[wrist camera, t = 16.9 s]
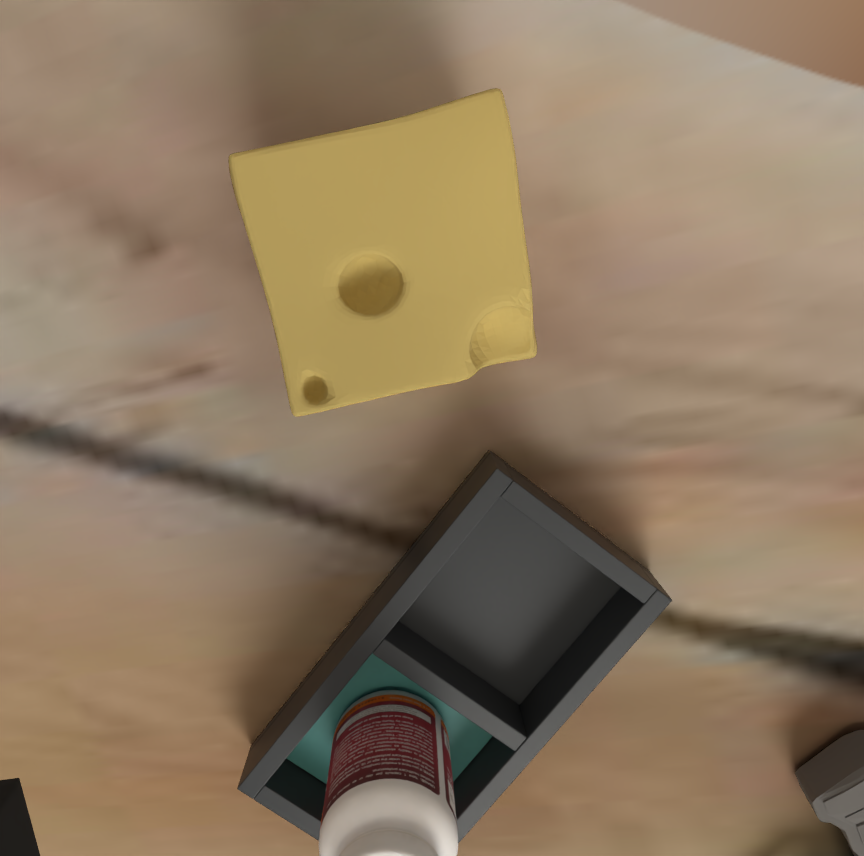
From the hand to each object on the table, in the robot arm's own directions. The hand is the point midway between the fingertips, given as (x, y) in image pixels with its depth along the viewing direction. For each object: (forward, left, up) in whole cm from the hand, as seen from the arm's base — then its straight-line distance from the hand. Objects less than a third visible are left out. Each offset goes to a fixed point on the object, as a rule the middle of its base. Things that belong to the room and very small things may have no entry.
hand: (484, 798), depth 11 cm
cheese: (-6, +5, -29) cm, 30 cm away
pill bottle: (+9, -15, -28) cm, 33 cm away
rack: (+9, -10, -29) cm, 32 cm away
